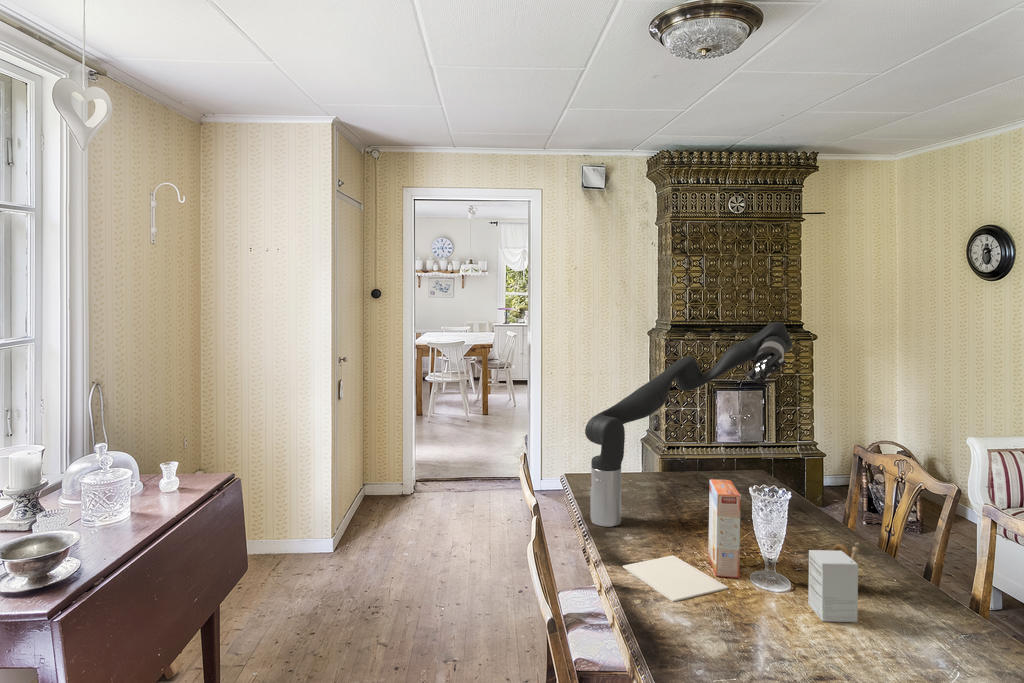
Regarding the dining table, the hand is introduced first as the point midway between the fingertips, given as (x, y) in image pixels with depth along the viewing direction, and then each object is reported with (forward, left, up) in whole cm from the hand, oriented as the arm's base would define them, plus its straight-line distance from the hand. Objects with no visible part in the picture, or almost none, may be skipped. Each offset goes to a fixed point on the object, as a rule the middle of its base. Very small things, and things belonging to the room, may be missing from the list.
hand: (759, 380), depth 169 cm
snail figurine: (+33, -7, -46) cm, 57 cm away
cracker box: (+12, -24, -46) cm, 53 cm away
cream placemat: (+12, -40, -46) cm, 62 cm away
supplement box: (+40, -20, -46) cm, 64 cm away
